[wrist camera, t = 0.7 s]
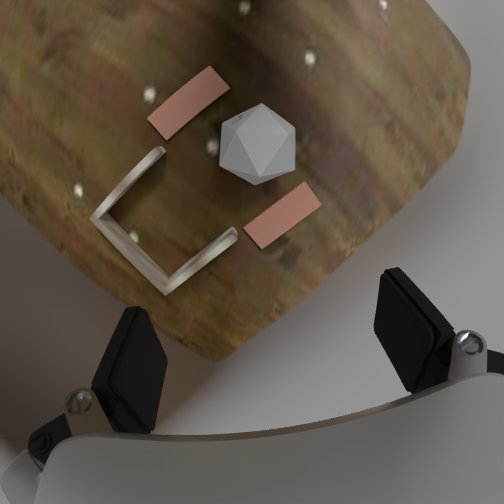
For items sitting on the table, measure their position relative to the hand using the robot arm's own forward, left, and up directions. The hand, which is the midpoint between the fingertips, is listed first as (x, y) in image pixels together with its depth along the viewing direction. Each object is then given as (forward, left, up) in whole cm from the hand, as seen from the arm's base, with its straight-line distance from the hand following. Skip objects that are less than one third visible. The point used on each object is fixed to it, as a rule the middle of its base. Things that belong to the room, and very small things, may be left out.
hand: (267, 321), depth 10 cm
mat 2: (-1, +6, -27) cm, 27 cm away
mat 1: (-1, -13, -27) cm, 29 cm away
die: (-4, -3, -27) cm, 27 cm away
